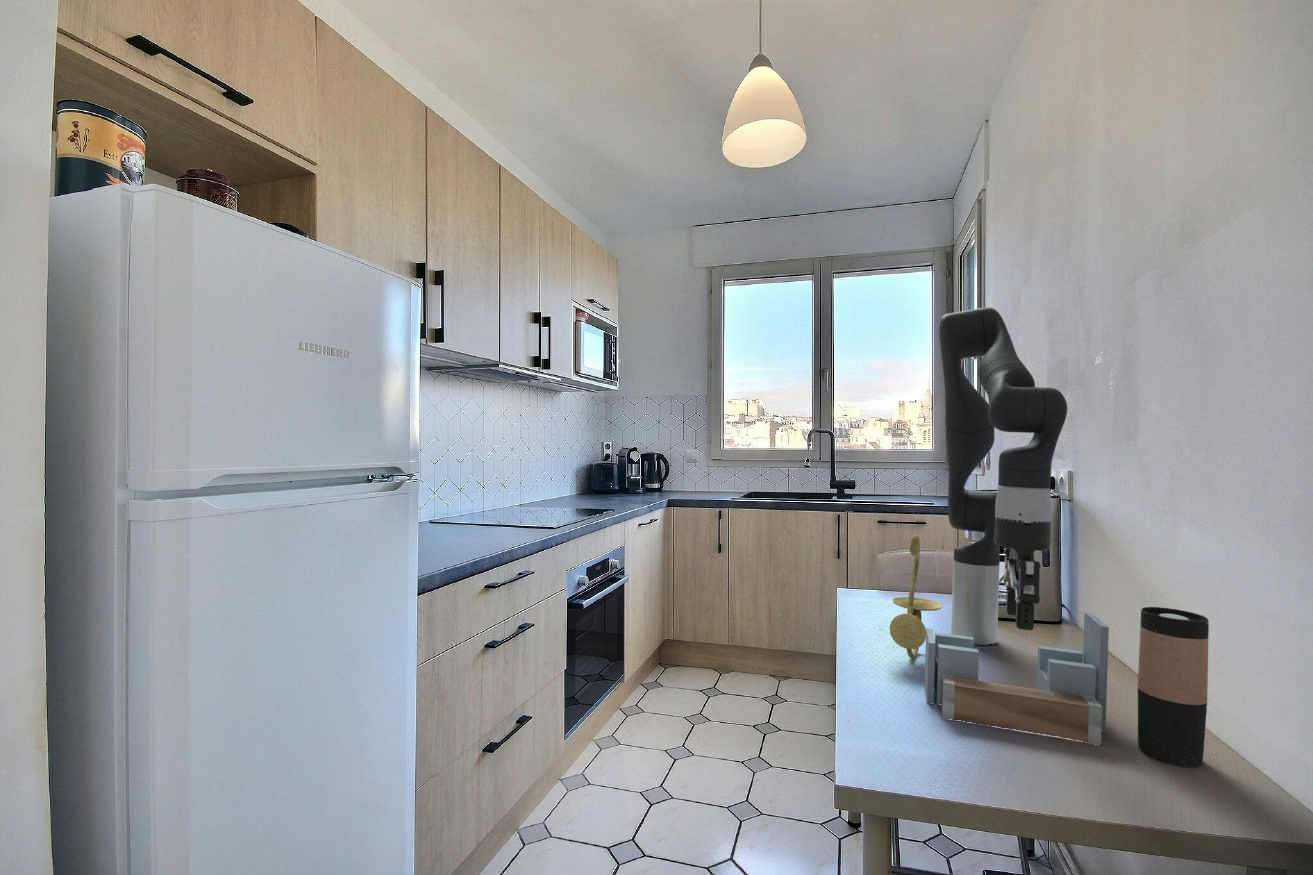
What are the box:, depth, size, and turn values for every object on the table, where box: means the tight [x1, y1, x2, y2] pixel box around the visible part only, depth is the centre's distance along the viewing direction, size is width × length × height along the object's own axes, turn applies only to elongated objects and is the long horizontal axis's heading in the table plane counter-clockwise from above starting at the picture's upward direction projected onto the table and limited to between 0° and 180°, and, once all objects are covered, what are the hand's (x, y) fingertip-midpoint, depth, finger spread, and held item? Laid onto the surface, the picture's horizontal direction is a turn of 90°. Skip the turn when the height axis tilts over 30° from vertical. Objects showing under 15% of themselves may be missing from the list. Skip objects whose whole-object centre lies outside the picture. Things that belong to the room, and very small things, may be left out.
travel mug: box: [1137, 606, 1210, 768], centre depth 90 cm, size 8×8×20 cm
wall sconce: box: [889, 534, 943, 659], centre depth 128 cm, size 14×10×25 cm
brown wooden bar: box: [940, 674, 1102, 746], centre depth 97 cm, size 4×21×6 cm, turn 69°
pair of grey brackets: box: [924, 611, 1110, 733], centre depth 105 cm, size 9×25×16 cm, turn 69°
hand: (1019, 621), depth 98 cm, fingers open, 8 cm apart
